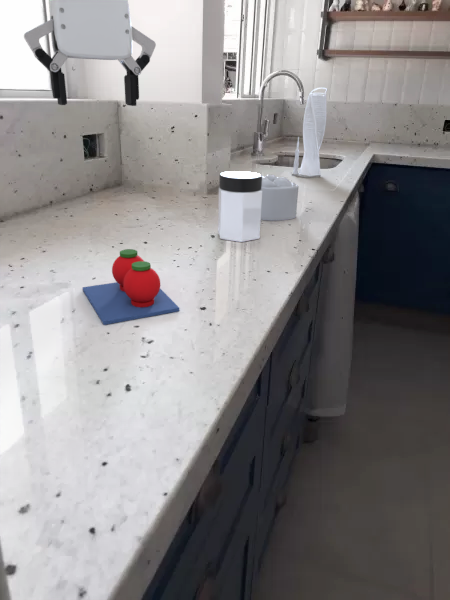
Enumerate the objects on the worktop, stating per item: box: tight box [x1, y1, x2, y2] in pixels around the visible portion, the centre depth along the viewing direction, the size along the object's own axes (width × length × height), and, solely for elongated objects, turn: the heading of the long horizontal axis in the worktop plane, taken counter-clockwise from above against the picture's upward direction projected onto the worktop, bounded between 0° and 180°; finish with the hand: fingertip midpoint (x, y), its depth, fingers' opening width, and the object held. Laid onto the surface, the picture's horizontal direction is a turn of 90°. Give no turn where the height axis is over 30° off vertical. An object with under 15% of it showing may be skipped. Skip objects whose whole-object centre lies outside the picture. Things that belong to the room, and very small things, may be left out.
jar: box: [217, 170, 263, 243], centre depth 94 cm, size 9×8×12 cm
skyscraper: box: [291, 86, 328, 179], centre depth 161 cm, size 8×8×28 cm
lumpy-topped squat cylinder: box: [261, 174, 299, 221], centre depth 111 cm, size 10×13×9 cm
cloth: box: [82, 281, 180, 326], centre depth 66 cm, size 10×12×1 cm
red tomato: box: [111, 248, 145, 292], centre depth 68 cm, size 5×5×5 cm
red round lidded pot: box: [123, 260, 161, 307], centre depth 63 cm, size 5×5×5 cm
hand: (97, 105), depth 68 cm, fingers open, 9 cm apart
